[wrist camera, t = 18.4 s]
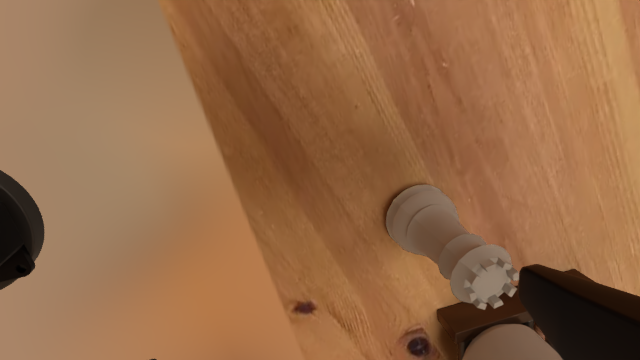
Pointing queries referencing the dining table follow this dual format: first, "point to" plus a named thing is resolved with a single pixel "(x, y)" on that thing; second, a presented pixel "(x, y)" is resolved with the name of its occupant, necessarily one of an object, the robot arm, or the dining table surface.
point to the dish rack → (486, 317)
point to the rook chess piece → (450, 246)
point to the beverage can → (509, 345)
